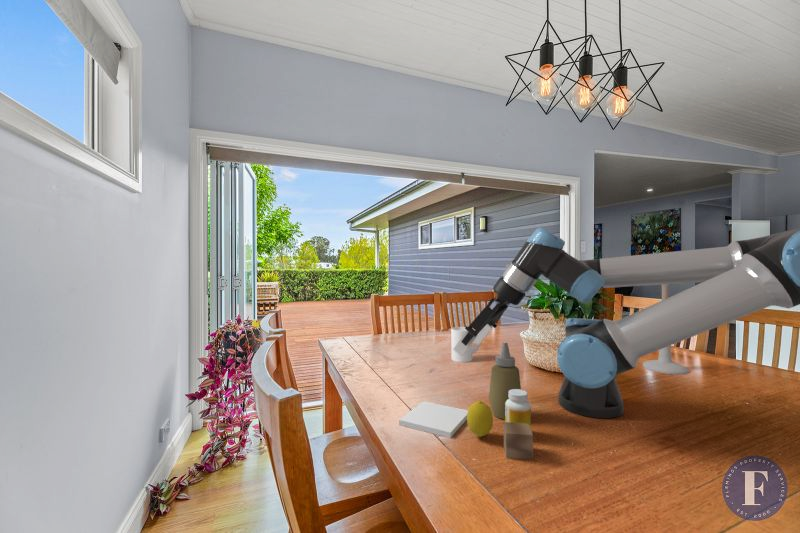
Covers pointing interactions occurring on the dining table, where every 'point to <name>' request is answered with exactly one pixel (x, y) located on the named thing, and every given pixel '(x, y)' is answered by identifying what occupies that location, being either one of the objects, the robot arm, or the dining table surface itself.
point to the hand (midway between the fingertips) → (466, 347)
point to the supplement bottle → (518, 407)
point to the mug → (455, 338)
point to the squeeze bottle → (503, 381)
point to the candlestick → (665, 353)
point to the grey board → (435, 419)
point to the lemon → (479, 418)
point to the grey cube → (518, 441)
